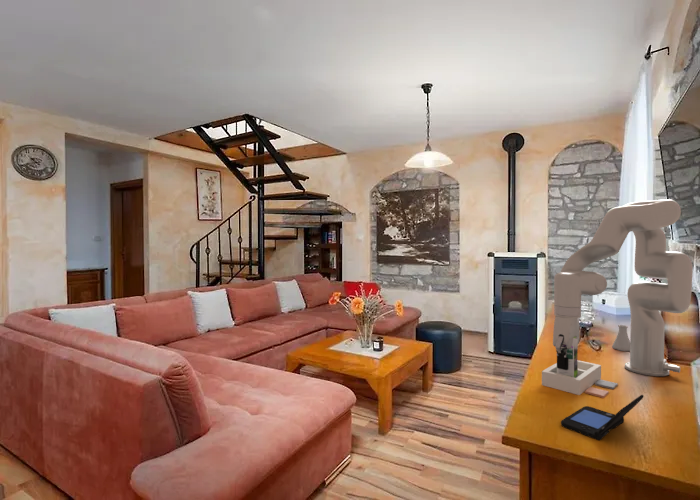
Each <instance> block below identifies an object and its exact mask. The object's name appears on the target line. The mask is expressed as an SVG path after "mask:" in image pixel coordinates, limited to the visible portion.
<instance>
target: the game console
mask: <svg viewBox="0 0 700 500" xmlns="http://www.w3.org/2000/svg"><path fill="white" fill-rule="evenodd" d="M643 398H644V394H640V395H639V396H638V397H636V398H635V399H634V400H632V401H631V402H629V403H628V404H626V405H625V406H624V407H622V408H621V409H619V411H617V412H616V413H615V414H614V413H611V412H608V411H604V410H602V409H598V408H596V407H592V406H588V405H587V406H586V405H585V406H582V407H581V408H580V409H578V410H576V411H575V412H573V413H571V414H570V415H568V416H566V417H564V418H562V419H561V421H560V425H561V427H563V428H565V429H567V430H571V431H574V432H576V433H580V434H581V435H583V436H587V437H589V438H591V439H594V440H596V441H600V440H601V441H602V439H604V438H605V436H607V435H608V434H609V433H610V431H611V430H613V429H616V428H617V427H618V426H620V425H621V424H623V423H624V422H625V416H626V415H627V414H628V413H629V412H630V411H631V410H632V409H634V407H636V406H637V405H638V403H640V402H641V401H642V400H643Z"/></svg>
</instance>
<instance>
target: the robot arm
mask: <svg viewBox="0 0 700 500" xmlns="http://www.w3.org/2000/svg"><path fill="white" fill-rule="evenodd" d="M681 211H682V209H681V206H680V205H679V203H678V202H677V201H675V200H673V199H669V198H668V199H666V198H665V199H658V200H657V199H654V200H642V201H633V202H629V203H626V204H624V205H622V206H616V207H612V208H610V209H609V210H608V211H607V212H606V213H605V215H604V217H603V219H602V220H601V223H600V224H599V225H598V228H597V229H596V231H595V233H594V235H593V237H592V238H591V240H590V242H588V243H587V244H585V245H583V246H582V247H581V248H579V249H578V250H577V251H575V252H574V253H572V254H571V255H570V256H569V257H568V258H567V260H566V261H565V263H563V264H564V265H562V267H561V270H560V272H558V273H555V275H554V277H553V279H554V280H553V281H554V282H553V284H554V285H553V286H554V287H553V288H554V289H553V292H554V293H553V294H554V296H553V297H554V298H553V299H554V301H553V303H554V305H553V307H554V308H553V310H554V311H553V312H554V314H553V315H554V317H555V318H554V322H553V335H552V336H553V337H552V345H553V347H555V352H556V363H557V368H559V369H563V370H568V357H567V355H568V349H570V348H572V343H573V338H574V337H576V336H577V340H578V344H579V343H580V318H581V317H582V296H583V295H584V296H585V295H587V296H598V295H600V294H602V293H604V292H605V290H606V289H607V285H608V281H607V279H606V277H605V276H604V275H603V274H601V273H600V272H597V271H596V272H595V271H589V270H588V271H587V270H584V269H586V268H587V267H589V265H592V264H594V263H596V262H598V261H601V260H604V259H608V258H611V257H613V256H616V255H617V254H618V253H619V251H620V250H621V248H622V246H623V245H624V243H625V240H626V239H627V237H628V235H629V233H630V232H632V233H633V235H634V237H635V249H634V252H635V253H634V271H635V274H637V276H639V277H642V278H648V279H658V280H667V283H665V282H664V283H661V282H655V281H642V280H641V281H637V282H633V283H631V284H630V285H629V287H628V288H627V292H626V293H627V300H628V304H629V305H628V306H629V310H630V311H629V312H630V330H629V331H630V337H629V340H630V351H629V361H628V362H626V363H624V368H625V369H626V370H628V371H630V372H632V373H635V374H640V375H644V376H650V377H666V376H669V375H670V374H671V373H670V372H673V373H674V372H675V373H679V374H680V372H681V366H678V365H676V364H671V363H668V362H667V359H666V358H665V325H666V324H665V320H664V318H663V316H662V315H661V313H660V312H667V313H673V314H682V313H683V314H684V313H685V312H686V311H687V310H688V309H689V308H690V305H691V301H692V292H693V291H692V287H693V271H694V270H693V263H692V260H691V258H690V257H689V255H687V254H686V253H684V252H681V251H680V252H679V251H668V250H667V237H666V235H665V232H664V231H663V229H662V228H665V227H669V226H671V225H674V224H675V223H676V222H678V220H679V218H680V217H681V214H682V212H681ZM562 345H565V346H566V347H563V346H562ZM562 349H565V353H564V351H563V350H562Z"/></svg>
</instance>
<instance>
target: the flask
mask: <svg viewBox="0 0 700 500" xmlns="http://www.w3.org/2000/svg"><path fill="white" fill-rule="evenodd" d="M628 328H629V327H628V326H627V325H623V324H619V325H618V331H617V335H616V338H615V339H614V341H613V343H612V346H611V348H612V349H614V350H618V351H624V352H630V337H629V335H628Z"/></svg>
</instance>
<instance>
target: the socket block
mask: <svg viewBox="0 0 700 500" xmlns="http://www.w3.org/2000/svg"><path fill="white" fill-rule="evenodd" d="M593 385H594V386H597V387H602V388H606V389H610V390H614V389H616V387H618V382H613V381H609V380H604V379H602V365H601V364H598V363H594V362H588V361H582V360H578V377H577V378H574V377H570V376H566V375H562V374H558V373H557V362H556V363H554V364H552V365H550V366H548V367H547V368H545V369H543V370H542V371H541V386H544V387H548V388H552V389H556V390H558V391H563V392H567V393H570V394H573V395H577V396H581V394H583V393H584V394H587V395H591V396H595V397H599V398H602V399H604V398H605V397H607V395H608V394H609V393H610V392H609V391H608V390H606V389H602V388H601V389H600V388H597V387H593Z"/></svg>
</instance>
